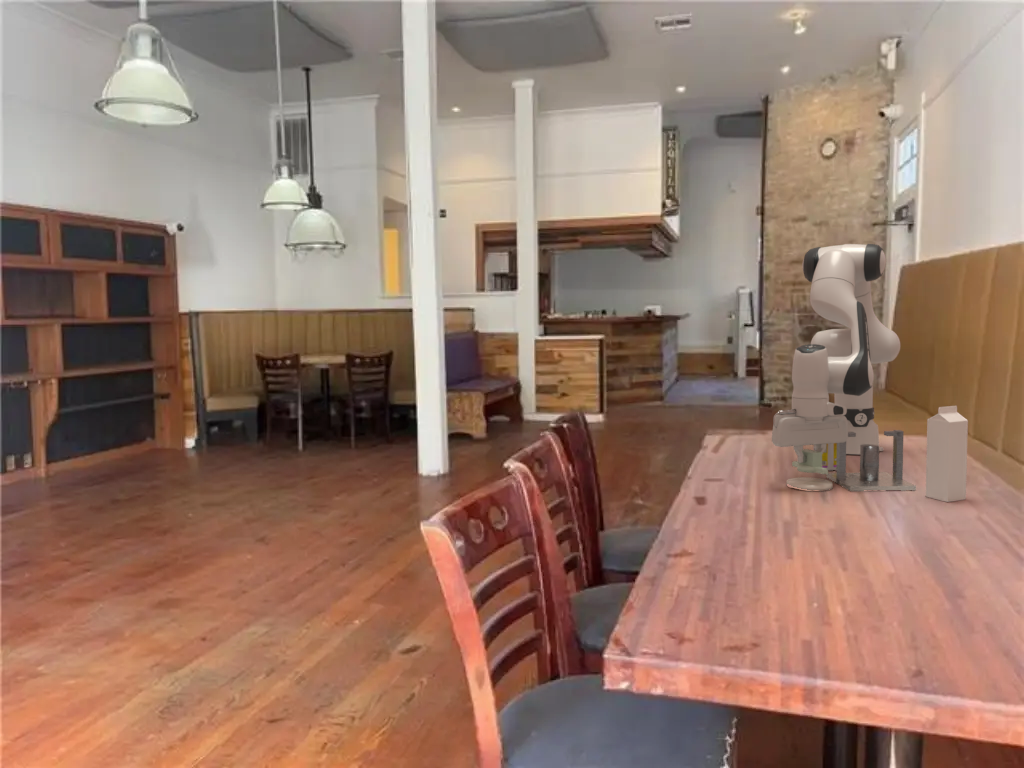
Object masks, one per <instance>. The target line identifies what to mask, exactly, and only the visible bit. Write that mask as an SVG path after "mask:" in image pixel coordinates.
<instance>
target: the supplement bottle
mask: <svg viewBox="0 0 1024 768" xmlns="http://www.w3.org/2000/svg"><path fill="white" fill-rule="evenodd" d="M817 448H818V447H816V445H813V451H816V450H817ZM822 468H826V469H828V470H829V471H828V472H834V471H833V470H835V471H836V469H837V443H831V444H826V449H825V450H824V452H823V454H822Z"/></svg>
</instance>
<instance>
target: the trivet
mask: <svg viewBox="0 0 1024 768" xmlns="http://www.w3.org/2000/svg"><path fill="white" fill-rule="evenodd" d="M833 483H834V482H833V481H831V480H829V479H825V478H819V477H818V478H817V477H806V476H805V477H803V476H802V477H792V478H788V479H786V485H787V484H789V485H791V486H793V487H797V488H801V489H807V490H820V491H819V492H822V491H821V490H828V491H830V490H829V489H831V490H832V489H833Z"/></svg>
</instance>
